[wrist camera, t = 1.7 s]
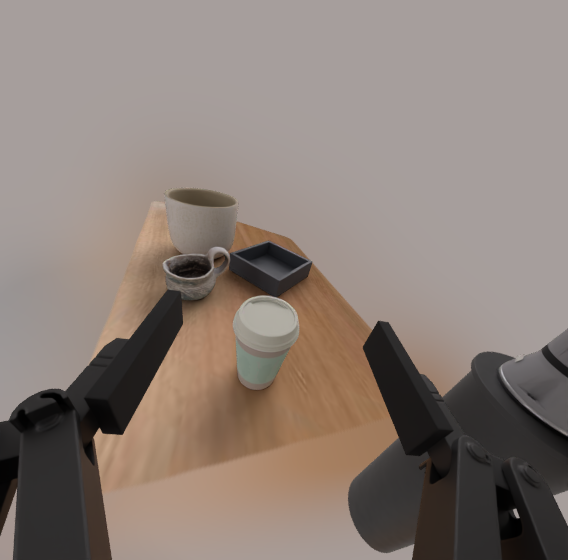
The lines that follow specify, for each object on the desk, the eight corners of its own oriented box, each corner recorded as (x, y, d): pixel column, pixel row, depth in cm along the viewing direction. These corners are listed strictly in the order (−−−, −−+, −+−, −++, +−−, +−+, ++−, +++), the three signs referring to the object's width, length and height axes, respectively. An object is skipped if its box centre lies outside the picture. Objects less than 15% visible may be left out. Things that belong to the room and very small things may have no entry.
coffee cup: (293, 368, 35) (313, 313, 28) (261, 413, 28) (278, 354, 22) (252, 340, 38) (262, 285, 31) (215, 375, 31) (218, 313, 25)
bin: (308, 276, 61) (312, 261, 59) (275, 298, 50) (279, 280, 47) (266, 254, 68) (268, 240, 65) (228, 269, 56) (229, 253, 53)
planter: (162, 241, 61) (156, 185, 53) (219, 237, 71) (222, 189, 63) (180, 271, 51) (176, 207, 43) (244, 262, 61) (250, 208, 53)
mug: (158, 286, 45) (153, 242, 40) (214, 273, 53) (215, 235, 48) (177, 314, 40) (173, 267, 34) (235, 294, 48) (239, 254, 42)
